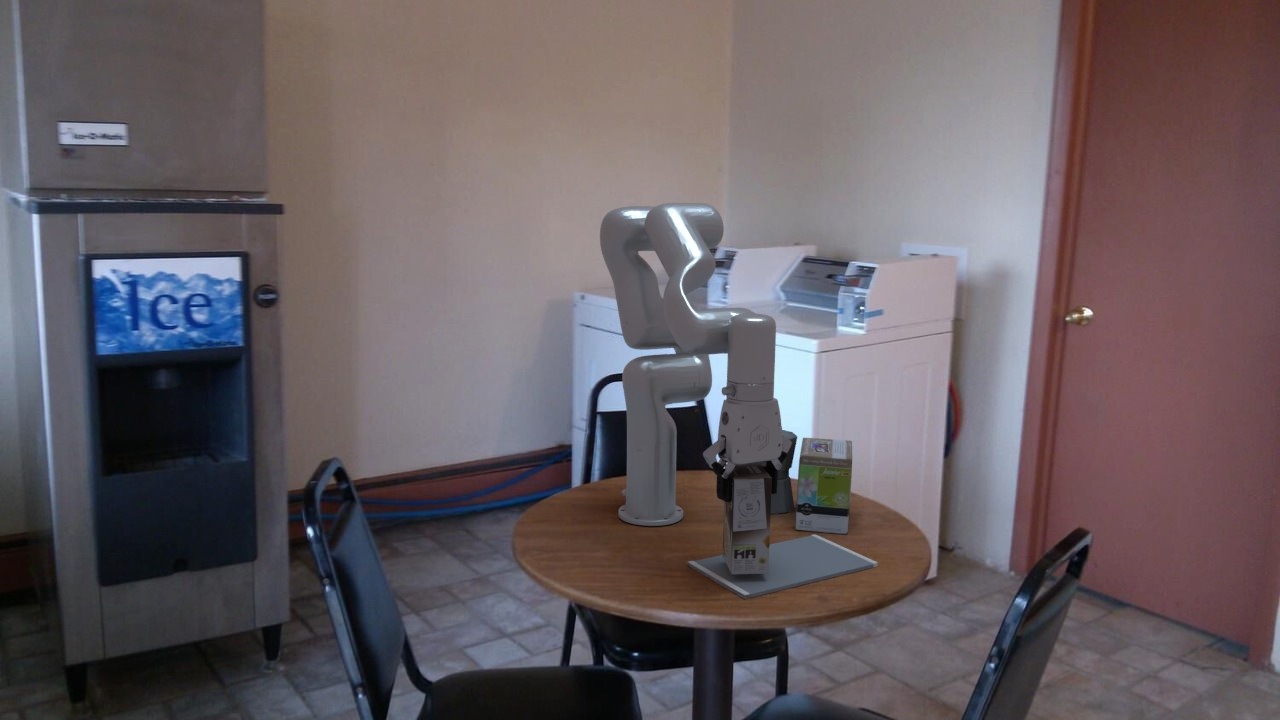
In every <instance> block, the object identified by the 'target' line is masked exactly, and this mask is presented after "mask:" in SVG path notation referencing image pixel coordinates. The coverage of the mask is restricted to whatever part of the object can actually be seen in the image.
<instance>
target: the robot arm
mask: <svg viewBox="0 0 1280 720" xmlns="http://www.w3.org/2000/svg"><path fill="white" fill-rule="evenodd" d="M604 215H605V216H604V217H603V219H602V221H601V224H600V227H599V228H600V230H599V243H600V250H601V254H602V257H603V260H604V262H605V265H606V267H607V270H608V273H609V275H610V277H611V280H612V285H613V288H614V293H615V294H614V296H615V300H616V306H617V307H616V308H617V311H618V318H619V323H620V327H621V328H620V329H621V333H622V338H623V340H624V342H625V344H626V345H627V346H628V347H629V348H630V349H633V350H638V351H639V350H641V351H642V350H646V351H649V350H659V349H660V350H661V349H673V351H674V353H664V354H663V353H661V354H648V355H642V356H637V357H635V358H633V359H631V360H630V361H628V363H626V364H625V366H624V367H623V371H622V376H621V379H622V381H621V383H622V390H623V395H624V401H625V409H626V410H625V411H626V488H623V489H622V490H621V495H622V496H624V497H625V504H623V505H621V506H620V507H619V508H618V513H617V514H618V517H619V518H620V520H622V521H623V522H625V523H628V524H632V525H636V526H644V527H659V526H660V527H661V526H669V525H672V524H675V523H678V522H680V521H681V520H683V517H684V510H683V508H682V507H680V506H679V505H677V504H676V495H677V494H676V491H677V490H676V489H677V488H676V487H677V483H676V482H677V443H678V442H677V438H678V437H677V426H676V423H675V420H674V419H673V417H672V416H671V415H670V413H669V412H668V410H667V409H666V406H667V405H673V404H680V403H681V404H683V403H691V402H698V401H701V400H704V399H705V398H706V397H708V395H709V394H710V392H711V390H712V385H713V374H712V372H713V371H712V366H711V361H710V355H717V354H719V355H720V354H723V355H725V354H727V362H726V363H727V364H726V365H727V367H726V368H727V369H726V386H723V387H722V388H721V394H722V396H726V399H723V403H722V406H721V410H720V417H719V422H718V423H719V424H718V432H717V440H716V441H715V442H714V443H712V444H711V445H710V446H709V447H708V448H706V450H704V451H703V452H702V456H703V458H704V459H705V461H706V464H707V467H708V468H710V470H711V471H712V472H713V474H714V475H715V476H716V497H717V499H719V500H721V501H723V502H724V501H725V502H731V501H732V478H730V477H729V476H730V474H731V472H732V470H733V469H734V467H735V465H748V464H754V463H760V462H765V464H766V466H763V467H764V469H765V470H766V471H767V472H768V474H769V475H770V476H771V477H772V490H771V493H772V494H776V493H777V479H778V470H780V469H781V466H782V465H781V464H782V462H783V461H784V460H785V458H786V457H787V453H788V451H789V449H790V447H791V445H792V442H791V441H790V440H789V439H787V438H785V437H784V436H782V430H783V427H782V428H781V426H782V415H781V411H780V405H779V400H778V399H777V398H776V397H775V396H774V393H775V371H776V370H775V367H776V339H777V338H776V337H777V324H776V321H775V318H774V317H772V315H769V314H763V313H755V311H752V310H751V309H749V308H745V307H716V308H715V307H714V308H700V309H699V308H698V307H696V305H695V304H694V303H693V302H691V301H690V299H688V297H687V295H689V294H690V293H692V292H694V291H696V290H698V289H699V288H701V287H702V286H703V285H705V284H707V282H708V281H710V279H711V278H712V276H713V275H714V273H715V270H716V265H717V263H716V259H715V258H714V257H715V256H714V255H713V254H712V252H711V249H714V248H716V247H718V245H720V243H722V242H721V241H722V240H723V237H724V231H725V230H724V229H725V227H724V221H723V219H722V216H721V214H720V213H719V211H718V210H717V209H716V208H715V207H714V206H712V205H711V204H708V203H705V202H704V203H703V202H692V203H691V202H668V203H666V202H665V203H662V204H661V203H660V204H658V205H656V206H646V205H643V206H642V205H640V206H639V205H637V206H636V205H635V206H633V205H632V206H622V207H618V208H614V209H612V210H610V211H608V212H607V213H606V214H604ZM639 252H655V254H656V256H657V258H658V259H659V261H660V263H661V265H662V267H663V269H664V271H665V274H667V276H668V278H669V279H668V280H667V281H668V282H667V283H666V285H665V288H664V291H663V297H662V296H661V293H660V288H659V287H660V286H659V282H658V277H657V275H656V273H655V271H654V269H653V268H652V267H651V265H650V264H649V263H648V262H647V261H646V260H645V259H644V258H643V257H642V256H641V255H640V254H639ZM717 456H718V458H719V459H718V461H717ZM726 464H727V465H726ZM725 465H726V467H725Z"/></svg>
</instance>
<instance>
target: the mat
mask: <svg viewBox="0 0 1280 720" xmlns="http://www.w3.org/2000/svg"><path fill="white" fill-rule="evenodd" d="M878 564H879V563H878V561H875V560H873V559H871V558H868V557H866V556H865V555H862V554H861V553H857V551H856V552H855V551H853V550H851V549H849V548H847V547H844V546H842V545H839V544H838V543H835V542H833V541H831V540H829V539H827V538H824V537H823V536H820V535H817V534H810V535H808V536H803V537H800V538H798V537H797V538H795V539H788V540H785V541H780V542H776V543H771V544H769V569H768V573H767V574H731V572H730V570H729V568H728V566H727V564H726V562H725V560H724V557H723V554H720V555H715V556H712V557H711V556H710V557H706V558H700V559H697V560H689V561H687V567H689V568H691V569H693V570H695V571H696V572H697V573H699V574H701V575H703V576H704V577H706V578H708V579H710V580H711V581H713V582H714V583H716V584H718V585H719V586H721V587H723V588H725V589H727V590H728V591H730V592H731V593H733V594H736V595H737V596H738V597H740V598H742V599H743V600H748V599H751V598H755V597H759V596H763V595H767V594H771V593H775V592H780V591H784V590H787V589H791V588H792V589H793V588H796V587H799V586H805V585H808V584H812V583H816V582H819V581H824V580H829V579H831V578H835V577H840V576H845V575H847V574H853V573H857V572H860V571H864V570H869V569H872V568H877V567H878Z"/></svg>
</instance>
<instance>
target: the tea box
mask: <svg viewBox="0 0 1280 720" xmlns="http://www.w3.org/2000/svg"><path fill="white" fill-rule="evenodd" d="M798 460H799V461H798V472H797V473H798V474H797V492H796V505H795V506H796V507H795V508H796V512H795V530H797V531H805V532H814V533H815V532H817V533H827V534H828V533H829V534H841V535H842V534H843V535H847V534H848V530H849V521H850V520H849V518H850V517H849V516H850V505H851V504H850V503H851V493H852V491H851V490H852V478H853V477H852V475H853V442H852V440H845V439H834V438H833V439H831V438H817V437H802V441H801V447H800V452H799V459H798Z"/></svg>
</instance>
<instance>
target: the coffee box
mask: <svg viewBox="0 0 1280 720" xmlns="http://www.w3.org/2000/svg"><path fill="white" fill-rule="evenodd" d="M726 465H727V463H726ZM726 465H725V467H726ZM725 467H724V468H725ZM729 477H730V478H732V501H731V502H725V501H723V524H722V525H723V528H722V529H723V531H722V555H723V557H724V560H725V562H726V564H727V566H728V568H729V570H730V572H731V574H767V573H768V569H769V545H770V543H771V539H770V538H771V518H772V517H771V516H772V514H771V490H772V477H771V476H770V475H769V474H768V472H767V471H766V470H765V469H764V467H763V466H762V465H761V464H760V463H754V464H748V465H735V467H734V469H733V470H732V472H731V474H730V476H729Z"/></svg>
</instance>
